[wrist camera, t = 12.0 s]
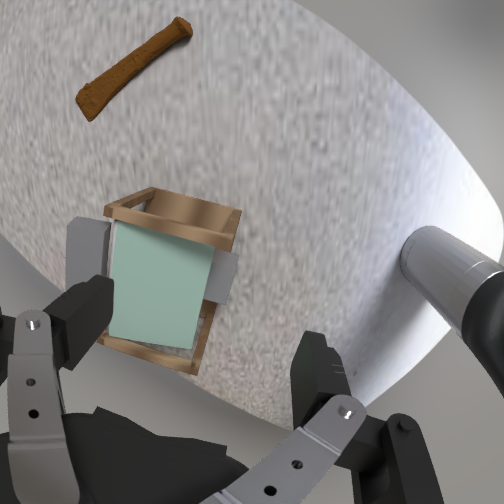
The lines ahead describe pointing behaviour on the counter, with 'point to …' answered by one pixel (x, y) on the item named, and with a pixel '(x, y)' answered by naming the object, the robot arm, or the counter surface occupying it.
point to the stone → (220, 276)
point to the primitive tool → (128, 69)
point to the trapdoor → (142, 278)
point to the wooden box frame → (185, 226)
